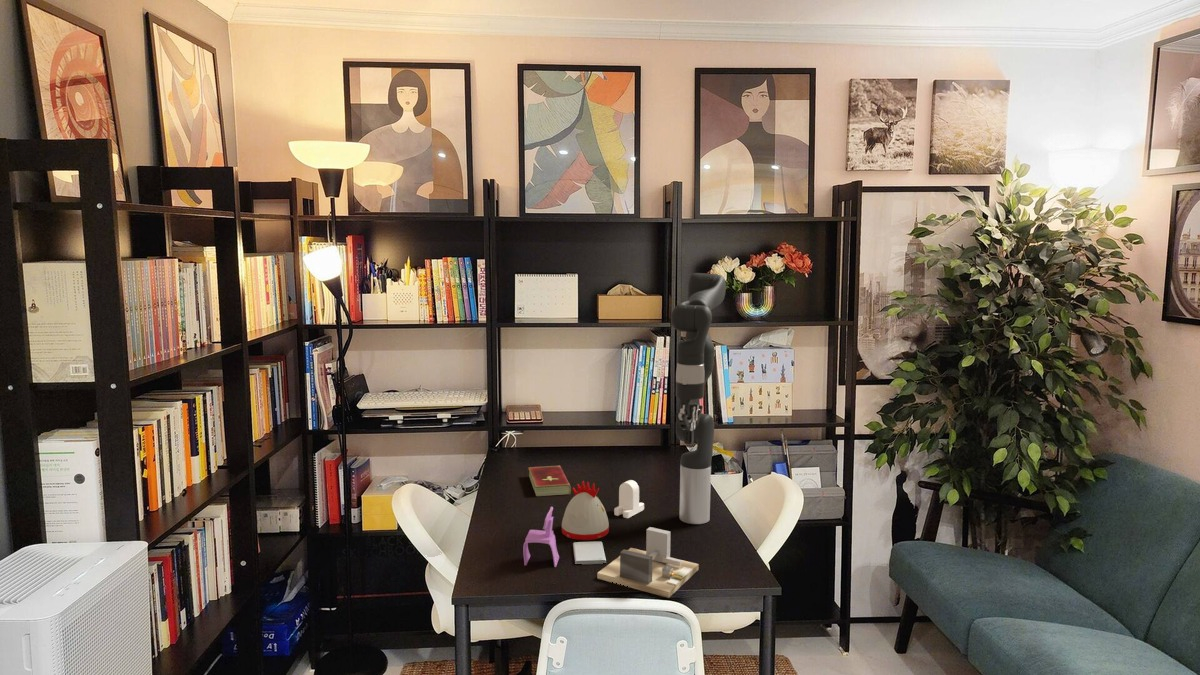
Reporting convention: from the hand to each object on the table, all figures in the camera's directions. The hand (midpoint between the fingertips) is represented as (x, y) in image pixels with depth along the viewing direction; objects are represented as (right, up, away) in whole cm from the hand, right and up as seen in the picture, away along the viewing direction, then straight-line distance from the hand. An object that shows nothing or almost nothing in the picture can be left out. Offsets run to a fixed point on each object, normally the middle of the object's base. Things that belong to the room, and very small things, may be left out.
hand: (688, 443), depth 203 cm
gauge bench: (-11, -32, -9) cm, 35 cm away
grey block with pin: (-6, -31, -14) cm, 35 cm away
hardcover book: (-42, -24, +59) cm, 76 cm away
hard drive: (-27, -32, +3) cm, 41 cm away
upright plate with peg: (-8, -30, -7) cm, 32 cm away
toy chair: (-40, -32, -2) cm, 51 cm away
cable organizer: (-15, -27, +35) cm, 46 cm away
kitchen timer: (-28, -29, +19) cm, 45 cm away
